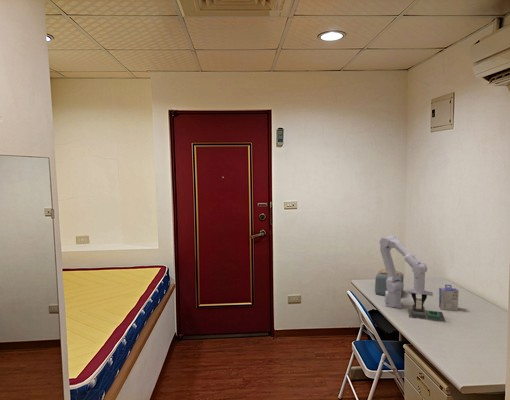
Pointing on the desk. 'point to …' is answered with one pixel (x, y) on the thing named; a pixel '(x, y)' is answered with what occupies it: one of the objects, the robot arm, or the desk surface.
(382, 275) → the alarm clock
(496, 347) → the desk surface
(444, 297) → the ink cartridge box
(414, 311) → the jack panel
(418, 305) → the plug
